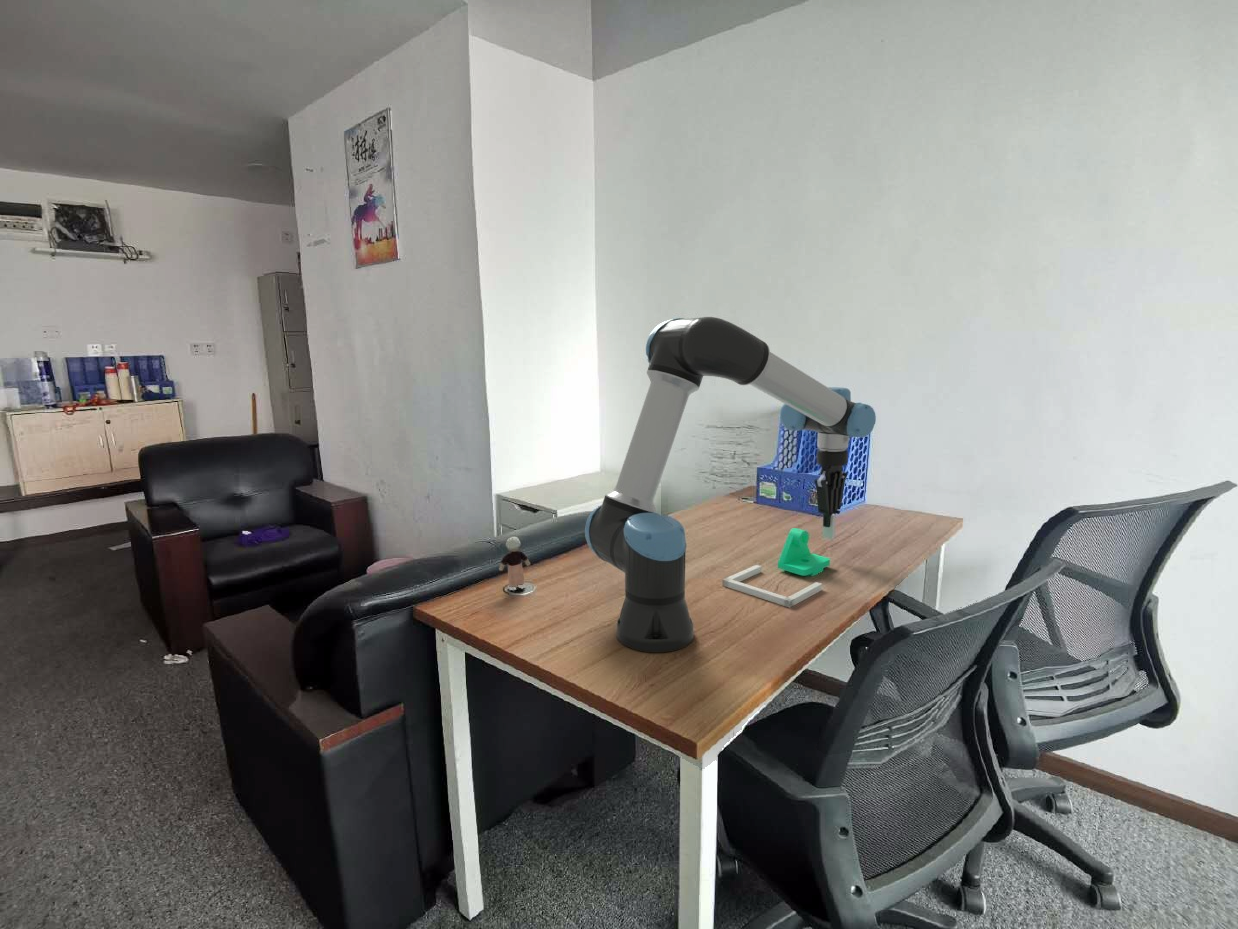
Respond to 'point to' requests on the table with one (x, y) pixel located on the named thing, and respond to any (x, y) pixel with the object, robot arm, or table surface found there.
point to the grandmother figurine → (514, 562)
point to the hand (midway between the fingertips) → (828, 537)
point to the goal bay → (789, 601)
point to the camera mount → (800, 555)
